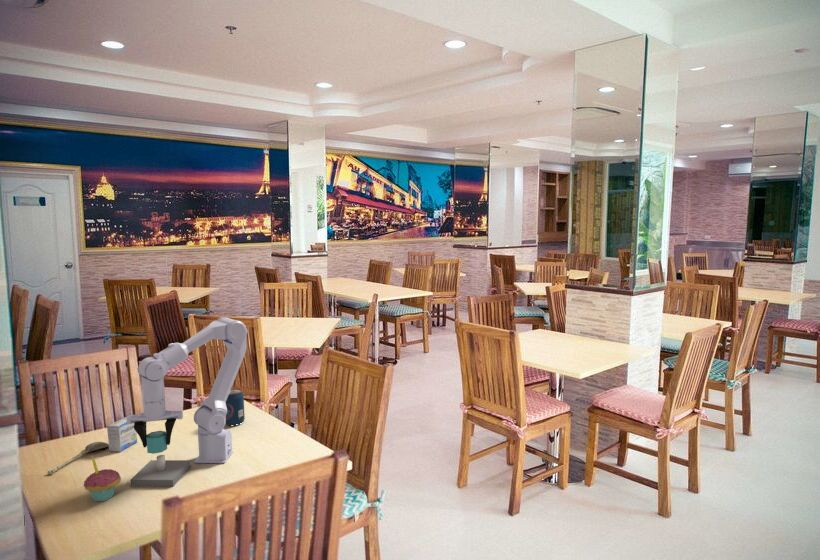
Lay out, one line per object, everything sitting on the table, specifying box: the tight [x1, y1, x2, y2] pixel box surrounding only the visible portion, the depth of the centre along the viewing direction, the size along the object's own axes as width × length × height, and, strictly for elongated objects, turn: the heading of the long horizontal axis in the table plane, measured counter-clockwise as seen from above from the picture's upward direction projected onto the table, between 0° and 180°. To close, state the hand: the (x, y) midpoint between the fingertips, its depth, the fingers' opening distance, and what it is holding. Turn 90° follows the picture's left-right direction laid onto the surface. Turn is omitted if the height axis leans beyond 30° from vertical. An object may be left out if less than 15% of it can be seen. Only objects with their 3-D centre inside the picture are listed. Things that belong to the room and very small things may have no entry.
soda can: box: [225, 388, 246, 426], centre depth 197 cm, size 7×7×12 cm
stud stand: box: [129, 454, 192, 488], centre depth 158 cm, size 12×12×6 cm
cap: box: [146, 430, 168, 455], centre depth 157 cm, size 5×5×4 cm
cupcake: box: [83, 455, 122, 502], centre depth 146 cm, size 9×8×12 cm
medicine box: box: [106, 416, 138, 453], centre depth 177 cm, size 8×4×9 cm, turn 168°
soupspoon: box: [47, 441, 109, 476], centre depth 169 cm, size 22×3×7 cm
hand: (157, 444), depth 157 cm, fingers closed on cap, 5 cm apart
